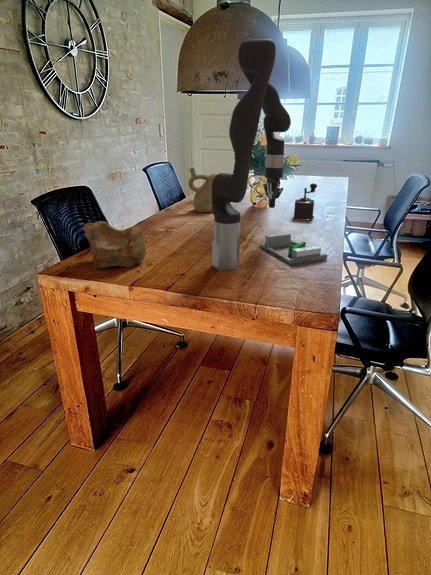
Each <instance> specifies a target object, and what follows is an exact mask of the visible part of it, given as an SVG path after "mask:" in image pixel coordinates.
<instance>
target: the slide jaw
mask: <svg viewBox="0 0 431 575" xmlns="http://www.w3.org/2000/svg"><path fill="white" fill-rule="evenodd" d="M291 238H292V234H291V233H289V232H280V233H271V234H265V236H264V244H265V245H267V246H268V247H270V248H272V249H275V248H280V247H282V248H283V247H289V245H290V242H291V240H292V239H291Z"/></svg>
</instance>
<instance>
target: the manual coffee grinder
mask: <svg viewBox="0 0 431 575" xmlns="http://www.w3.org/2000/svg"><path fill="white" fill-rule="evenodd" d="M317 187H318V185H317V183H310V184H309V188H310V191H308V190H307V187H304V191H303V192H304V195H303V197H302V198H299V199H295V202H294V212H293V220H295V219H309V220H308V221H311V220H312V219H313V220H314V218H315V216H314V209H315V208H314V206H315V200H314V199H312V198H310V197H307V194H313V193H315V192H316V189H317ZM313 220H312V221H313Z"/></svg>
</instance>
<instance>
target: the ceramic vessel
mask: <svg viewBox="0 0 431 575" xmlns="http://www.w3.org/2000/svg"><path fill="white" fill-rule="evenodd" d="M195 168H196V167H191V168H189V172H190V175H191V177H190V178H189V179H188V182H187V183H188V187H189V189H190V190H191V191H193V192H195V193H194V196H193V200H192V202H193V206H192V207H193V209H194V211H195V212H197V211H198V212H197V213H202V212H209V213H213V211H212V182H213V179H214V177H215V176H216V175H217V174H218V173H211V174H209V175H206V174H196V169H195ZM196 180H204V181H205V182H204V183H203V184H202V185H200V186H198V187H197V186H195V185H194V181H196Z"/></svg>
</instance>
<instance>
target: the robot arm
mask: <svg viewBox="0 0 431 575" xmlns="http://www.w3.org/2000/svg"><path fill="white" fill-rule="evenodd" d="M276 49H277V48H276V43H275V41H274V40H273V39H270V38H257V39H256V38H255V39H245V40H243V41H242V42H241V43H240V45H239V48H238V50H237V51H238V52H237V53H238V54H237V58H238V64H239V67H240V69H241V71H242V74H244V76H245V78H246V80H247V82H248V83H249V84H250V87H249V89H248V90H247V91H246V92H245V94H244V95H243V96H242V98H240V100H239V101H238V102H237V103H236V106H234V109H233V111H232V113H231V119H230V123H229V129H228V134H229V139H230V143H231V145H232V146H231V147H232V149H233V153H234V165H233V171H232V173H227V172H226V173H225V172H221V173H216V174H217V175H216V176H215V177H214V179H213V182H212V211H213V212H212V214H213V218H214V221H213V222H214V223H213V224H214V227H213V228H214V231H213V232H214V233H213V236H214V237H213V238H214V240H212V241H211V258H212V259H211V264H212V265H211V266H213V268H214V269H216V270H217V271H235V270H237V269H239V267H240V248H241V247H240V244H241V243H240V242H241V218H242V217H241V213H240V211H238V210H236V208H234V207H233V205H232V203H233V204H239V203H241V202H242V201H243V200H244V198H245V196H246V194H247V189H248V184H249V177H250V176H249V174H250V169H251V168H250V167H251V161H252V157H253V150H254V145H255V141H256V138H257V132H258V129H259V125H260V120H261V114H262V111H263V114H264V115H265V116H264V117H263V129H264V133H265V134H264V135H265V140H266V156H265V163H264V177H265V178H266V182H265V183H263V184H262V186H263V190H264V193H265V197H267V198H268V208H269V209H274V208H275V207H276V200H277V199H279V198H280V196H281V194H282V192H283V191H284V187H281V179H282V178H283V177H284V176H283V175H284V164H285V162H284V160H285V157H284V156H285V154H284V153H285V140H284V139H282V138H279V137H276V136H275V133H286V132H287V131H289V129H290V127H291V125H292V124H291V122H292V121H291V116H290V114H289V112H288V111H287V109H286V108H285V107H284V105H283V104H282V102H281V99H280V95H279V93H278V91H277V89H276V87H275V86H274V85H273V83H271V82H270V78H271V75H272V72H273V68H274V66H275V60H276V52H277V50H276Z"/></svg>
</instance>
